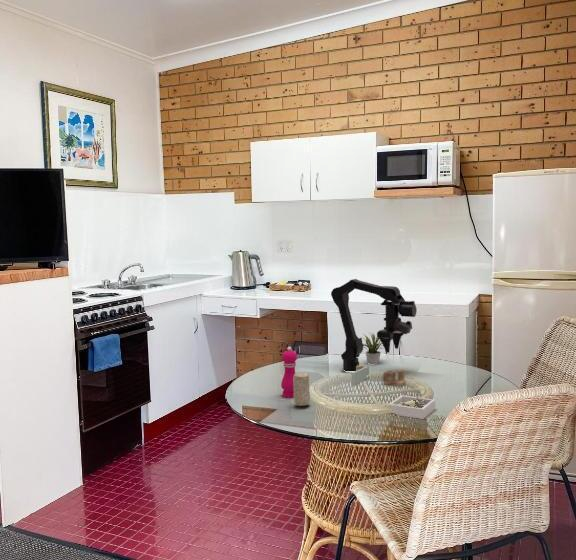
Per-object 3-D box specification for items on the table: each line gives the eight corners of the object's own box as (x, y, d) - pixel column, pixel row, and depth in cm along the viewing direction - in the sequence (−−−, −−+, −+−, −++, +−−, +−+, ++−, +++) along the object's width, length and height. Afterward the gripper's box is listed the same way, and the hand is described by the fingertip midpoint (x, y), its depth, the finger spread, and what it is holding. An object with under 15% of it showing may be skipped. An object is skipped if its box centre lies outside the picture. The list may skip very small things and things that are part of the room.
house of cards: (439, 408, 228) (439, 388, 227) (431, 415, 220) (431, 394, 220) (415, 405, 232) (415, 385, 232) (407, 411, 225) (407, 391, 224)
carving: (308, 401, 239) (307, 371, 238) (311, 407, 231) (311, 376, 230) (292, 402, 238) (291, 372, 237) (295, 408, 230) (294, 377, 229)
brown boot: (383, 386, 258) (383, 372, 257) (387, 384, 262) (387, 370, 261) (400, 389, 254) (400, 375, 253) (405, 386, 257) (405, 372, 257)
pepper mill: (287, 399, 243) (286, 349, 241) (278, 395, 249) (276, 346, 247) (302, 396, 246) (301, 347, 244) (293, 392, 252) (292, 344, 251)
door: (367, 378, 271) (366, 366, 270) (369, 378, 270) (369, 366, 269) (351, 385, 259) (351, 372, 258) (353, 386, 258) (353, 373, 258)
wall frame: (356, 378, 272) (356, 366, 271) (358, 377, 273) (358, 365, 273) (402, 384, 260) (402, 371, 260) (404, 383, 262) (404, 370, 262)
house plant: (394, 362, 300) (394, 329, 298) (386, 369, 287) (386, 334, 286) (365, 360, 306) (365, 328, 304) (357, 366, 293) (357, 333, 292)
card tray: (388, 413, 222) (388, 404, 221) (401, 404, 233) (401, 395, 232) (423, 419, 215) (423, 409, 215) (435, 409, 226) (435, 399, 226)
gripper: (400, 320, 258) (400, 356, 259) (417, 313, 273) (417, 348, 275) (376, 318, 264) (376, 353, 266) (394, 312, 280) (394, 346, 281)
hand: (392, 350), depth 272 cm, fingers open, 9 cm apart
